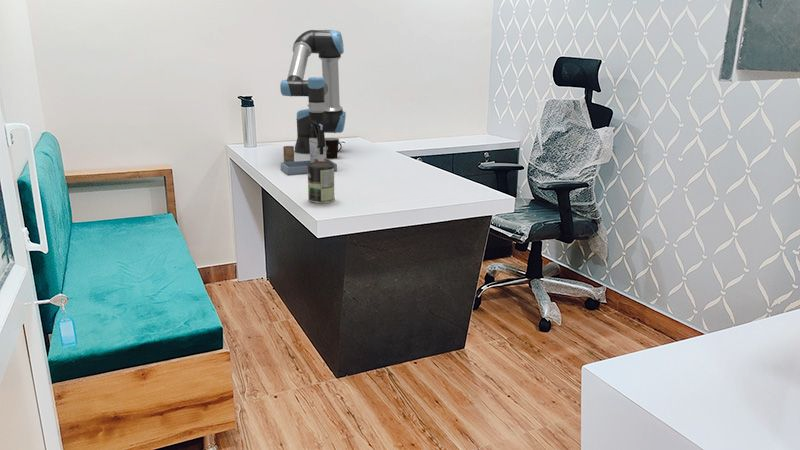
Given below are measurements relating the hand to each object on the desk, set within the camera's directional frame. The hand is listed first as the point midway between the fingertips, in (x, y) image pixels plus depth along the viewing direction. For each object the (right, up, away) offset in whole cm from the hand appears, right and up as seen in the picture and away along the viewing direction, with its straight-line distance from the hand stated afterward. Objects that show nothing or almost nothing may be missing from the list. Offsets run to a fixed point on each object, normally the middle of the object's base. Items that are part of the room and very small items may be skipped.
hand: (318, 159), depth 283 cm
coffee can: (+9, -22, -52) cm, 57 cm away
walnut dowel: (-16, -1, +12) cm, 20 cm away
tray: (-4, -5, 0) cm, 7 cm away
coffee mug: (+3, +4, +30) cm, 31 cm away
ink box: (0, -2, +1) cm, 2 cm away
